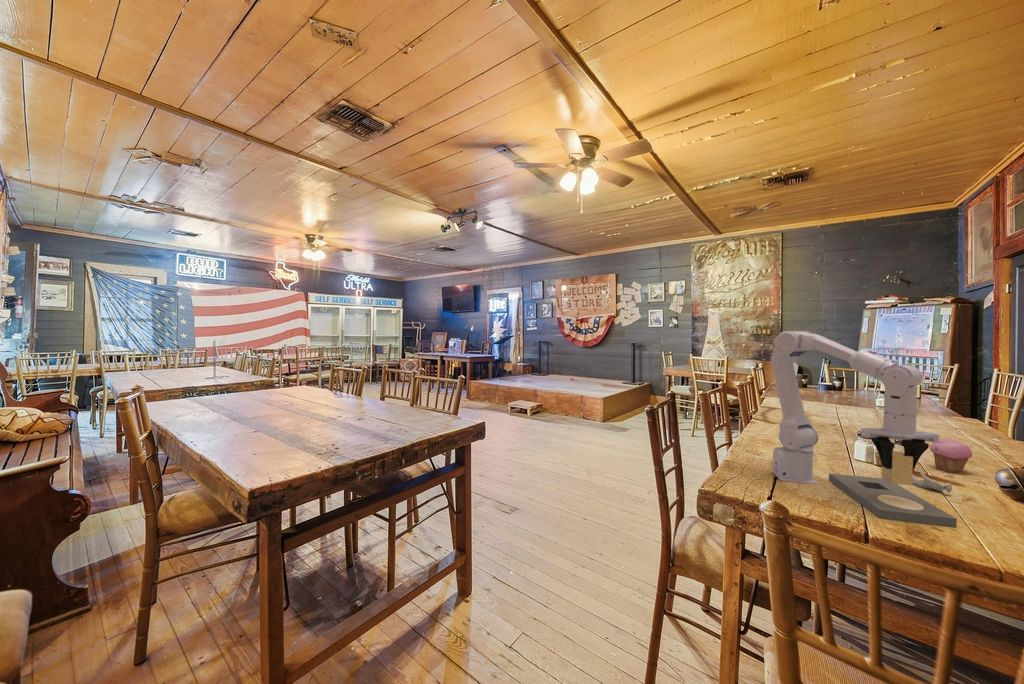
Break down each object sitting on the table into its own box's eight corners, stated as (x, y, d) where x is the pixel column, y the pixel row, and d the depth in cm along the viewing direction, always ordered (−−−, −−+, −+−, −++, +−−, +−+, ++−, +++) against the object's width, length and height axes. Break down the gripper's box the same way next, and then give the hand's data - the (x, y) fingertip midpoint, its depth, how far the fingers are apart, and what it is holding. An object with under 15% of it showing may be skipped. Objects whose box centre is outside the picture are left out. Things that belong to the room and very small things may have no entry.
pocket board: (879, 520, 91) (879, 508, 91) (828, 481, 114) (829, 472, 114) (956, 529, 87) (956, 517, 87) (887, 487, 110) (888, 478, 110)
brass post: (891, 483, 95) (892, 455, 95) (881, 477, 99) (882, 450, 99) (911, 485, 94) (913, 456, 94) (900, 479, 98) (901, 451, 97)
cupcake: (947, 465, 129) (949, 435, 128) (980, 475, 120) (981, 443, 120) (921, 465, 128) (923, 435, 128) (952, 476, 120) (953, 443, 119)
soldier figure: (913, 483, 116) (965, 486, 105) (908, 496, 114) (960, 501, 103) (893, 465, 116) (943, 466, 105) (887, 478, 115) (937, 480, 103)
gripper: (873, 415, 94) (871, 470, 94) (950, 419, 90) (947, 477, 90) (856, 409, 100) (855, 461, 101) (927, 413, 96) (925, 467, 97)
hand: (897, 468), depth 96 cm, fingers closed on brass post, 4 cm apart
